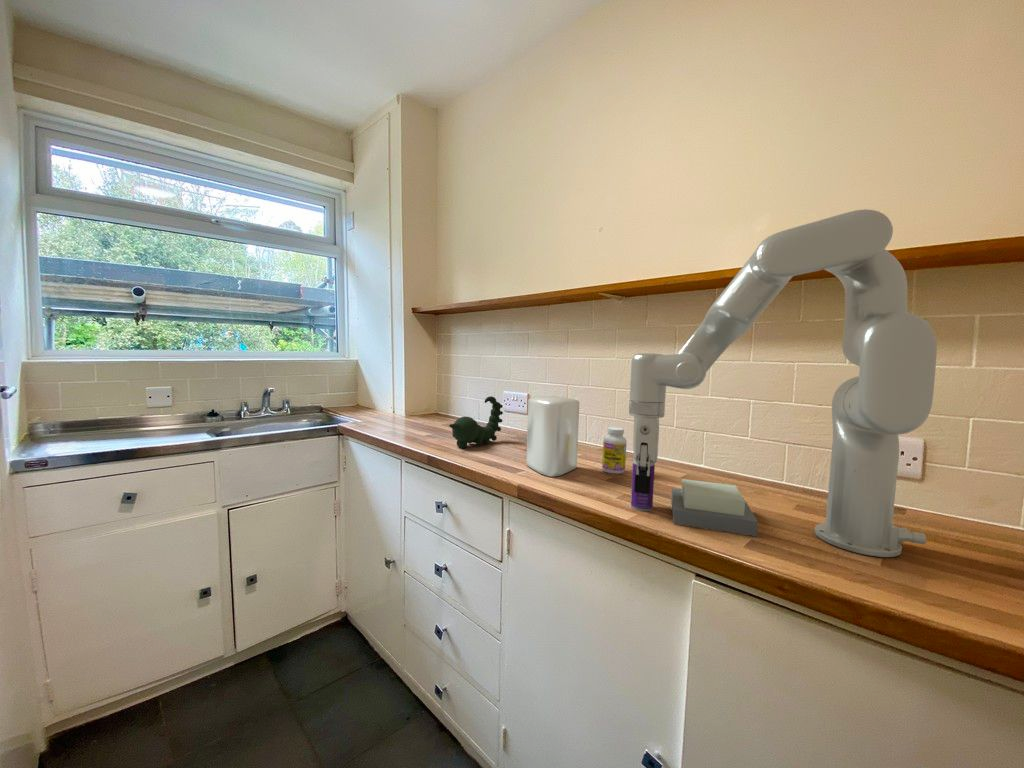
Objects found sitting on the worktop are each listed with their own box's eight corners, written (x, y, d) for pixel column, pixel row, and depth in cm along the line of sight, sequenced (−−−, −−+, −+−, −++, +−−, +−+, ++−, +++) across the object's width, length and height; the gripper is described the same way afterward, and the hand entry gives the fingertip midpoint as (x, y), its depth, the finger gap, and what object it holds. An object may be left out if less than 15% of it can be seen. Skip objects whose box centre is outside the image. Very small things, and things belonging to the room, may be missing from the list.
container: (638, 512, 90) (641, 444, 89) (626, 504, 95) (629, 440, 93) (656, 510, 91) (660, 444, 90) (644, 503, 96) (647, 439, 95)
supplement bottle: (599, 471, 121) (601, 428, 120) (605, 466, 127) (607, 425, 126) (622, 475, 118) (624, 431, 117) (627, 470, 124) (629, 428, 123)
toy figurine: (487, 443, 163) (438, 446, 144) (492, 395, 163) (443, 393, 144) (505, 447, 157) (456, 451, 138) (509, 397, 157) (461, 395, 138)
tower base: (741, 509, 93) (743, 484, 93) (756, 536, 79) (758, 506, 79) (671, 500, 98) (672, 475, 98) (673, 523, 84) (675, 495, 84)
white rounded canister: (576, 466, 127) (578, 395, 125) (578, 479, 113) (582, 400, 111) (526, 463, 128) (529, 393, 127) (523, 476, 114) (526, 397, 112)
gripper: (665, 415, 82) (660, 504, 83) (664, 406, 98) (659, 481, 99) (626, 412, 85) (622, 498, 86) (631, 404, 101) (627, 477, 102)
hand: (642, 488), depth 93 cm, fingers closed on container, 4 cm apart
